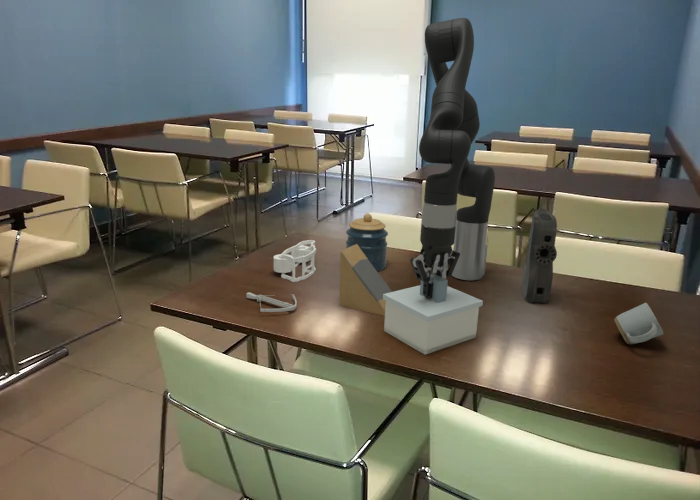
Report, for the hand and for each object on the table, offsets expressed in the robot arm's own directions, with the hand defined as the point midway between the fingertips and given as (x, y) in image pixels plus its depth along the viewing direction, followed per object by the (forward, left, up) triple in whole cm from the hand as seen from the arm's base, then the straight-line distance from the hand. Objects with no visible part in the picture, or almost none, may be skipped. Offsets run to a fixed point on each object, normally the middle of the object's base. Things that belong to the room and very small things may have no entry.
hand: (432, 295), depth 124 cm
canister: (-16, -46, -10) cm, 50 cm away
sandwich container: (+1, -21, -10) cm, 23 cm away
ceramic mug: (-36, +30, -10) cm, 48 cm away
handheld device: (-40, -2, -10) cm, 41 cm away
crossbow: (+23, -36, -10) cm, 44 cm away
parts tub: (0, 0, -10) cm, 10 cm away
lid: (0, 0, -2) cm, 2 cm away
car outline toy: (+3, -55, -10) cm, 56 cm away
